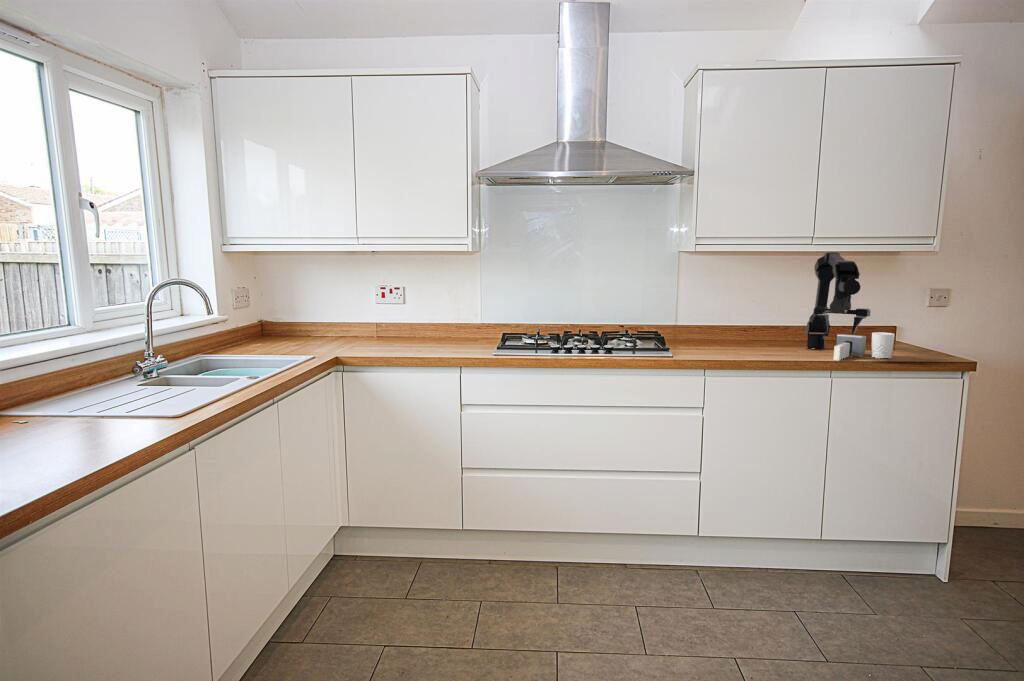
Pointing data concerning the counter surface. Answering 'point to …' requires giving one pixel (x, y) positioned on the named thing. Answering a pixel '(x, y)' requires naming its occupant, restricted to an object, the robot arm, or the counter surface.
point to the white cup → (882, 344)
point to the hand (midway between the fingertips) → (839, 333)
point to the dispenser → (853, 343)
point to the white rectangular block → (841, 351)
